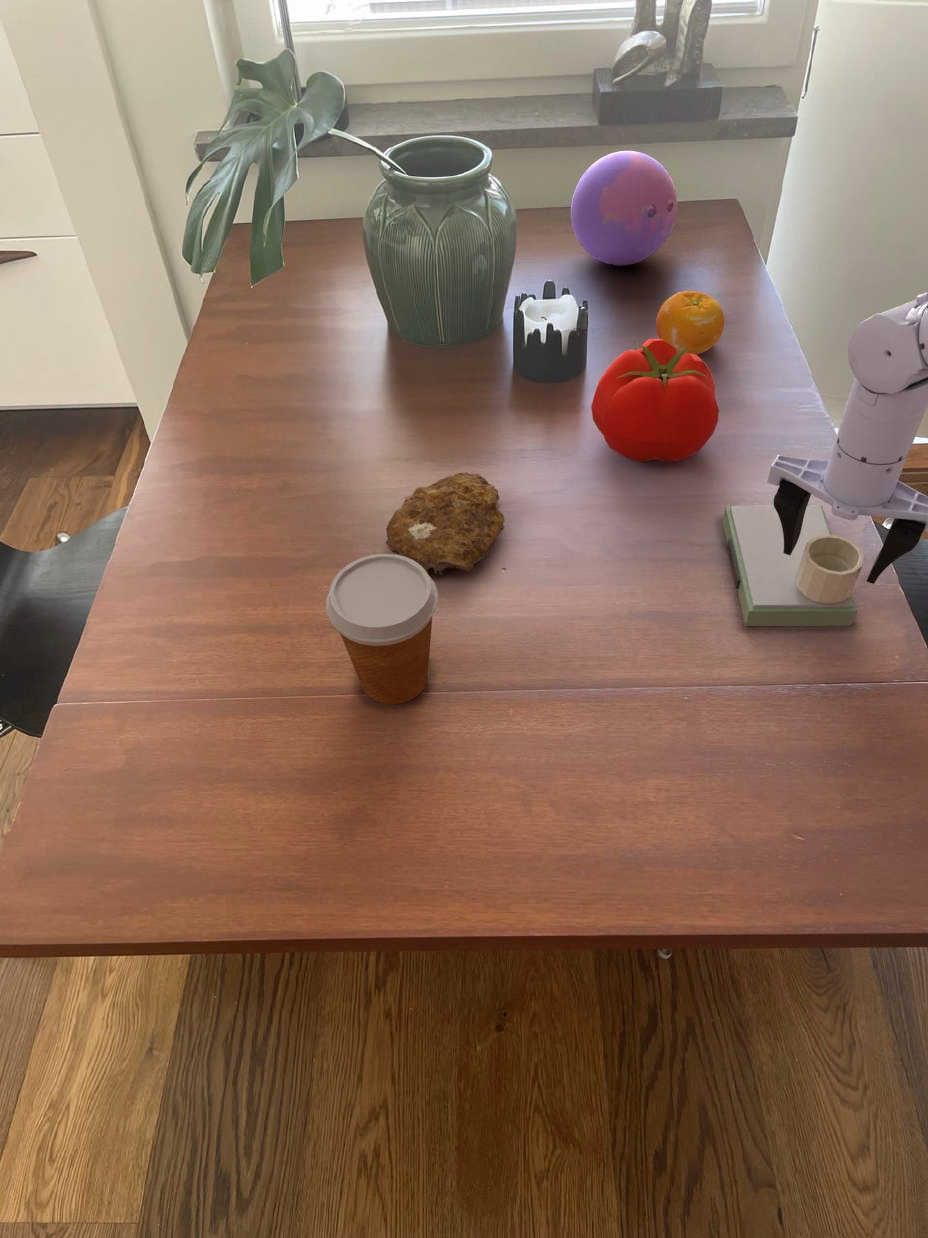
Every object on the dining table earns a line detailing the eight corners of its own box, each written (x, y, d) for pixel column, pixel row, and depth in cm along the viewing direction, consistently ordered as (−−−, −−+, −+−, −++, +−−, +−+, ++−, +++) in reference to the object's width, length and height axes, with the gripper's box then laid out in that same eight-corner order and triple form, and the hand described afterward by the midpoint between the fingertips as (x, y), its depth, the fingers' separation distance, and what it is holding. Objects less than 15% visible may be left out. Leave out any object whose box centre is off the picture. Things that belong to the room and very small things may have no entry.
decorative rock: (429, 482, 106) (374, 573, 97) (424, 454, 103) (367, 545, 94) (523, 498, 102) (475, 594, 93) (521, 469, 99) (471, 566, 90)
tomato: (715, 483, 103) (733, 394, 94) (587, 479, 104) (593, 390, 95) (708, 413, 111) (724, 325, 103) (589, 409, 113) (595, 322, 104)
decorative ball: (621, 295, 131) (630, 188, 120) (548, 259, 139) (550, 155, 128) (691, 259, 137) (706, 154, 126) (617, 226, 145) (625, 124, 134)
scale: (851, 626, 88) (858, 607, 86) (742, 626, 89) (747, 608, 87) (817, 520, 98) (823, 502, 96) (719, 521, 99) (723, 502, 97)
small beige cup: (862, 588, 88) (875, 555, 84) (827, 615, 86) (839, 582, 82) (817, 560, 90) (828, 526, 87) (782, 585, 88) (792, 552, 85)
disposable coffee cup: (325, 700, 85) (302, 612, 76) (373, 627, 90) (357, 538, 82) (417, 732, 82) (405, 645, 73) (461, 656, 88) (455, 566, 79)
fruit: (689, 352, 114) (700, 284, 112) (638, 350, 120) (648, 285, 119) (731, 360, 119) (742, 295, 117) (679, 357, 126) (689, 296, 124)
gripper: (769, 443, 76) (740, 561, 86) (955, 499, 70) (900, 617, 80) (797, 399, 80) (765, 517, 90) (974, 448, 74) (920, 568, 84)
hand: (830, 561), depth 85 cm, fingers open, 7 cm apart
